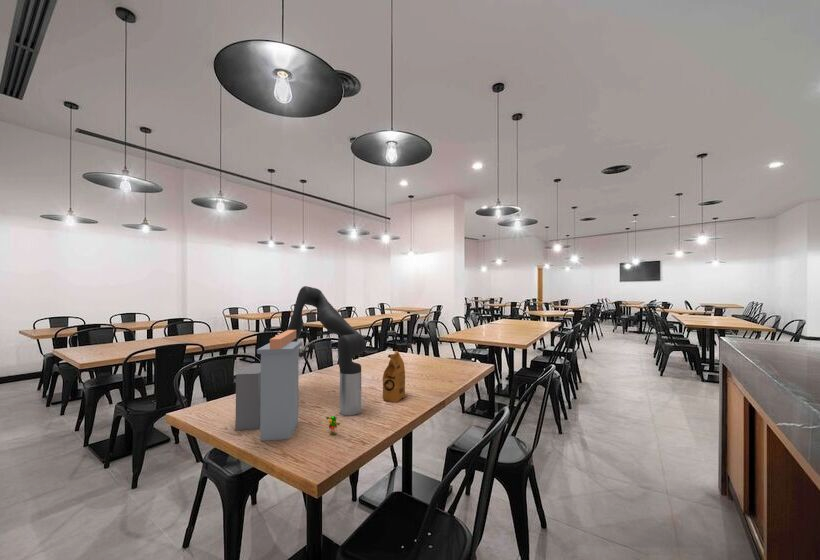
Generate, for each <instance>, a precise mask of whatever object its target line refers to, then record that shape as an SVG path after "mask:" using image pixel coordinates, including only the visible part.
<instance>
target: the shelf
mask: <svg viewBox="0 0 820 560" xmlns="http://www.w3.org/2000/svg"><path fill="white" fill-rule="evenodd" d="M260 407H261V362H260V363H259V362H258V363H257V362H255V363H254V362H253V363H251V364H250V365H248V366H247V367H245V368H243V369H242V370H240V371H239V372H238V373H236V374H235V425H234V426H235V429H234V430H235V431H248V430H250V431H251V430H259V429H260Z"/></svg>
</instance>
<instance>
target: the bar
mask: <svg viewBox="0 0 820 560" xmlns="http://www.w3.org/2000/svg"><path fill="white" fill-rule="evenodd" d="M286 330H287V329H286ZM286 330H285V331H283V332H282V333H278V334H277V335H276V336H274V337H272V338H269V343H270V349H281V348H282V347H284V346H285V345H287V344H288V343H290V342H291V341H293V340H294V339H296V330H287V331H286Z"/></svg>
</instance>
